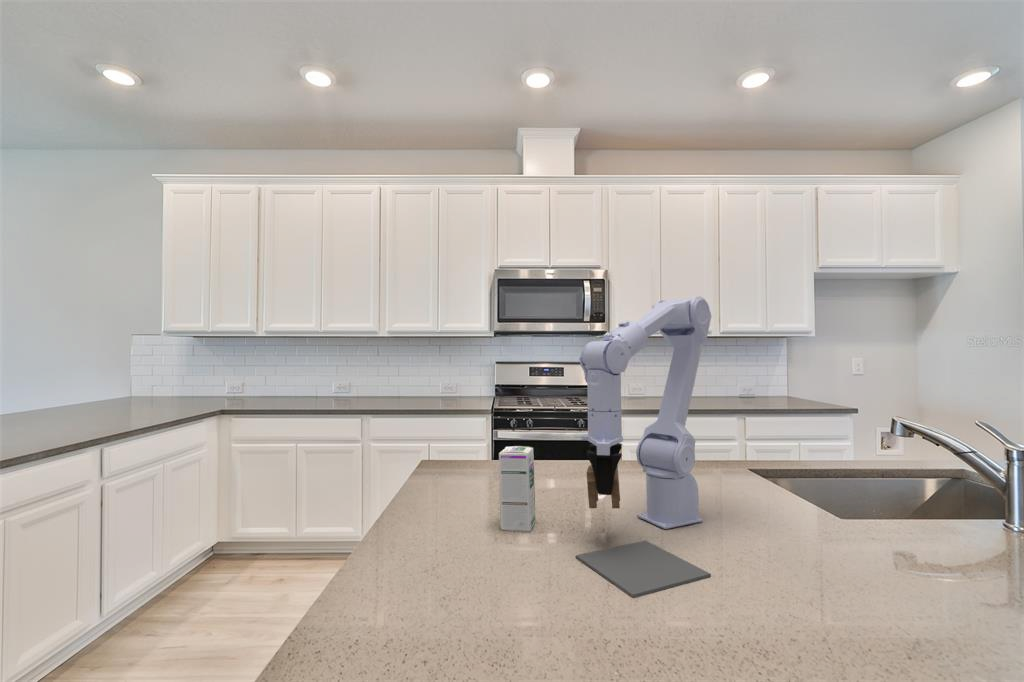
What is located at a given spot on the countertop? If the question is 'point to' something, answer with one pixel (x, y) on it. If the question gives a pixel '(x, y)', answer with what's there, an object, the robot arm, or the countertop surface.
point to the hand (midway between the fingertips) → (605, 489)
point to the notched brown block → (594, 493)
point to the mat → (641, 568)
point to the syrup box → (517, 488)
